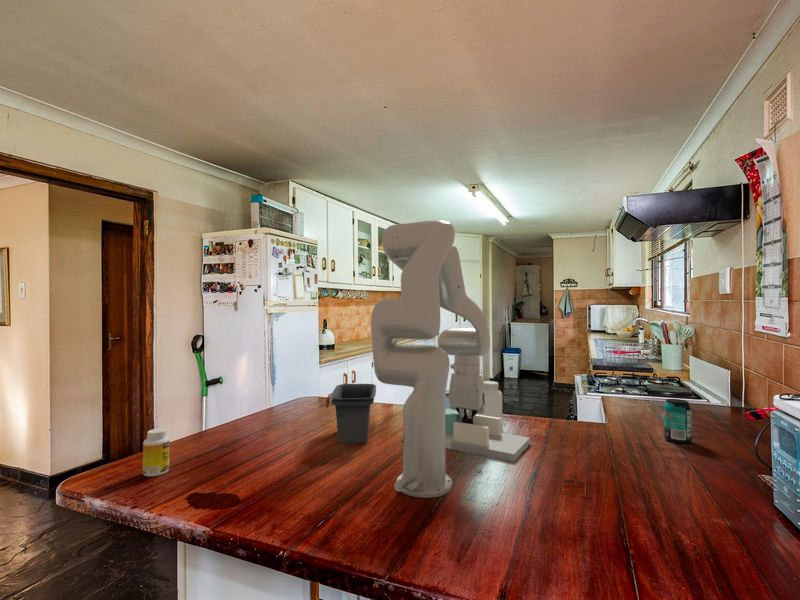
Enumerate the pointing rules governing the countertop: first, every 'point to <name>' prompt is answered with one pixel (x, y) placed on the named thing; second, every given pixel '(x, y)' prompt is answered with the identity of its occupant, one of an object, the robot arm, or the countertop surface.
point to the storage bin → (352, 411)
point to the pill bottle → (492, 400)
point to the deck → (486, 439)
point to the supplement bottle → (156, 453)
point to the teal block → (451, 420)
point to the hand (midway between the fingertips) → (467, 430)
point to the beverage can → (677, 421)
